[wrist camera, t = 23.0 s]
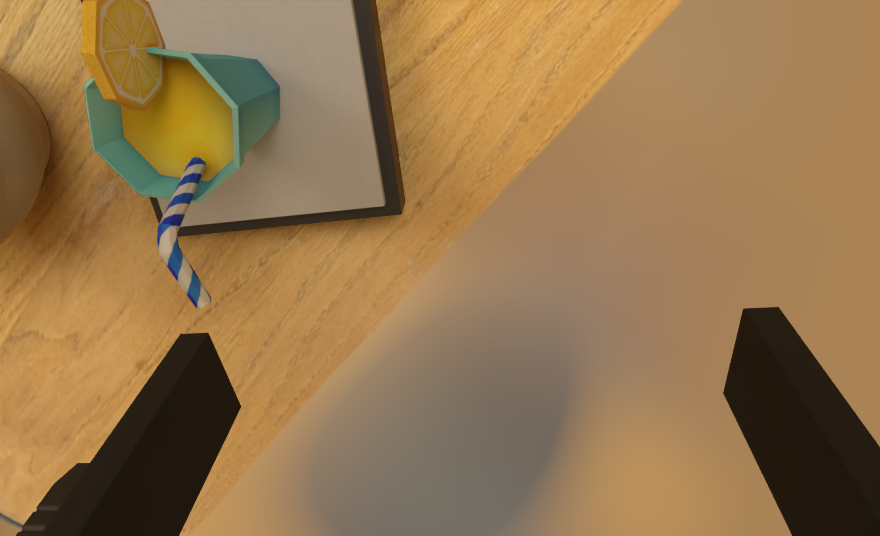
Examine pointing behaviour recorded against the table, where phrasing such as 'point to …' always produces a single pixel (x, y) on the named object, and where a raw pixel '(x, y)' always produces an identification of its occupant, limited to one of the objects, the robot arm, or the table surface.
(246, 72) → the cup
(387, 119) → the scale
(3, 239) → the planter bowl
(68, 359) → the table surface
